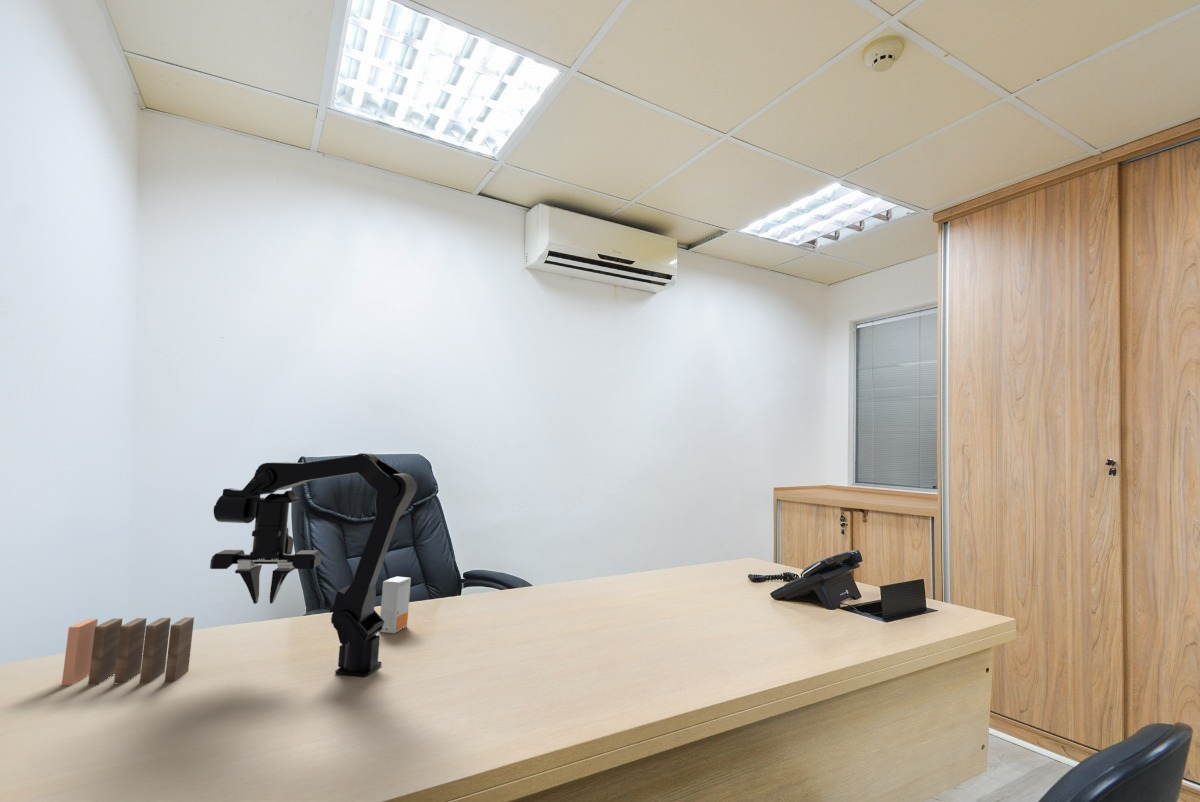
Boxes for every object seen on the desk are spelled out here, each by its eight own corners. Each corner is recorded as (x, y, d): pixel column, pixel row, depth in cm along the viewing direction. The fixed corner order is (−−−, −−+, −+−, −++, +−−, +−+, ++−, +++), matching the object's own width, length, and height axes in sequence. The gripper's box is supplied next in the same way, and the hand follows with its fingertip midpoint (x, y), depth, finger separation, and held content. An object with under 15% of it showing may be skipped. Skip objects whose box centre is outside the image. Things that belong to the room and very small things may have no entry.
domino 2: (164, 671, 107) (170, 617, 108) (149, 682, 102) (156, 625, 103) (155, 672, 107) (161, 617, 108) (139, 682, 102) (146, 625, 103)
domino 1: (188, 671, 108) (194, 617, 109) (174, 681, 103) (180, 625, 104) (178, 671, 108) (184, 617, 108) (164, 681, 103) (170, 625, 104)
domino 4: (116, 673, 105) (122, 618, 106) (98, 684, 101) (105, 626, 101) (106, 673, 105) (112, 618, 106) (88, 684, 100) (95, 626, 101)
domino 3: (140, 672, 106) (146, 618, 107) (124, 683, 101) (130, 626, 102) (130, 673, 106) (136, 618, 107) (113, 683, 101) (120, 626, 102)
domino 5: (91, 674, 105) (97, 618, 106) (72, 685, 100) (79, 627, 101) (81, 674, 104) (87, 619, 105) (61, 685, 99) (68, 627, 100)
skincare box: (394, 634, 134) (398, 582, 135) (378, 632, 135) (382, 581, 136) (408, 626, 140) (411, 577, 141) (392, 625, 140) (396, 575, 142)
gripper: (330, 520, 124) (324, 592, 123) (237, 518, 120) (229, 593, 119) (316, 527, 113) (309, 606, 112) (213, 525, 110) (204, 608, 108)
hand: (263, 603), depth 113 cm, fingers open, 3 cm apart
